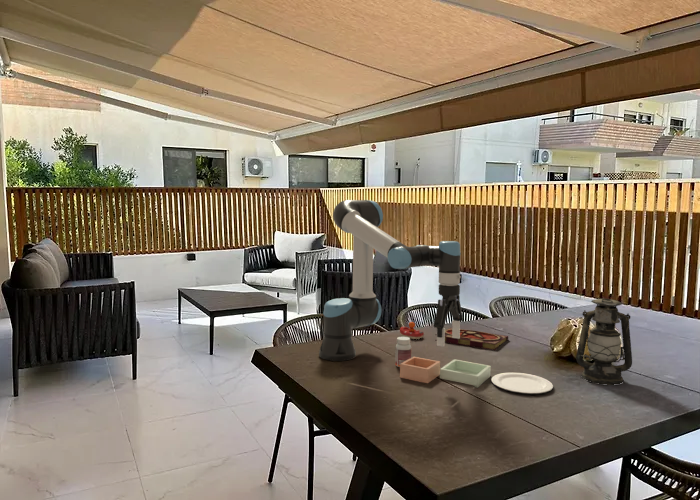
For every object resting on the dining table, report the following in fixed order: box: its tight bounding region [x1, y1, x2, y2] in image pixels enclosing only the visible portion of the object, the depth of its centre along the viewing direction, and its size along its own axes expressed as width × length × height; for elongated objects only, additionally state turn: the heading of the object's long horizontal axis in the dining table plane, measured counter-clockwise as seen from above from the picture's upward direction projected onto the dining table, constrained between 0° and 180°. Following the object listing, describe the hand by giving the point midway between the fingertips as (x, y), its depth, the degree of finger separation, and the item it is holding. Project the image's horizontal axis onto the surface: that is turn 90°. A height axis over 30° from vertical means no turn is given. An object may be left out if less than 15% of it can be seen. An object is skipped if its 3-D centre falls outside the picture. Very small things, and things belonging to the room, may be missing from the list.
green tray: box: [439, 358, 492, 389], centre depth 191 cm, size 14×14×4 cm
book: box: [434, 327, 509, 351], centre depth 244 cm, size 28×21×5 cm
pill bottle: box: [394, 336, 412, 368], centre depth 204 cm, size 6×6×11 cm
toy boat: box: [399, 321, 425, 340], centre depth 248 cm, size 8×12×8 cm, turn 54°
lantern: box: [575, 298, 633, 386], centre depth 189 cm, size 19×19×30 cm
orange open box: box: [399, 356, 441, 384], centre depth 191 cm, size 11×11×6 cm
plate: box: [491, 372, 554, 395], centre depth 185 cm, size 21×21×2 cm
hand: (448, 342), depth 190 cm, fingers open, 13 cm apart
